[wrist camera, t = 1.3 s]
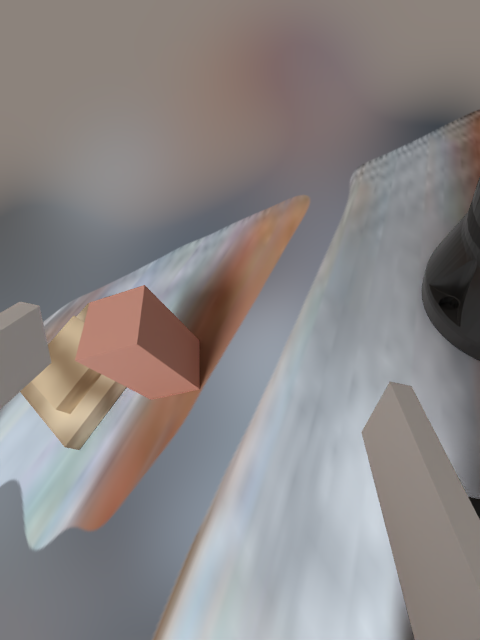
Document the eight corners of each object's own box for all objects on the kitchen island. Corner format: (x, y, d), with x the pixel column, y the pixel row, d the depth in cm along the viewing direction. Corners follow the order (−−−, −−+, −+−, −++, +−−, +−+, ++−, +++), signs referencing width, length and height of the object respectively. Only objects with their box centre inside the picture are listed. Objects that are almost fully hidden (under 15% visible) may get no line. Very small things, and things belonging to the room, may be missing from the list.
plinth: (98, 310, 45) (77, 295, 42) (156, 346, 37) (137, 331, 34) (29, 391, 41) (1, 381, 38) (79, 450, 33) (48, 443, 30)
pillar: (199, 340, 35) (144, 285, 27) (199, 389, 32) (136, 344, 23) (155, 351, 37) (89, 302, 28) (151, 399, 34) (74, 360, 25)
